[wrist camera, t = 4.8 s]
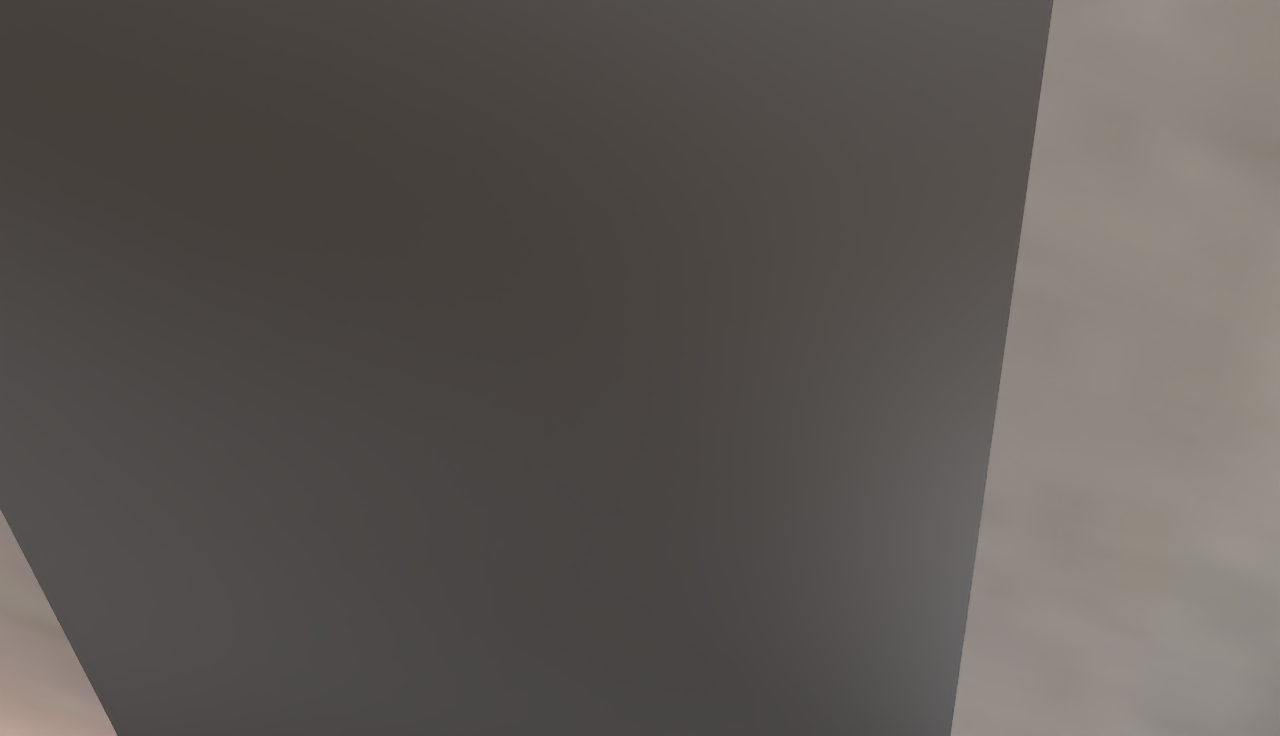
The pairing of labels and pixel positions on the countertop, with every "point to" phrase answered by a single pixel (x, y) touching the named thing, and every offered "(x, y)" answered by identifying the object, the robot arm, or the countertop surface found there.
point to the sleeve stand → (509, 356)
